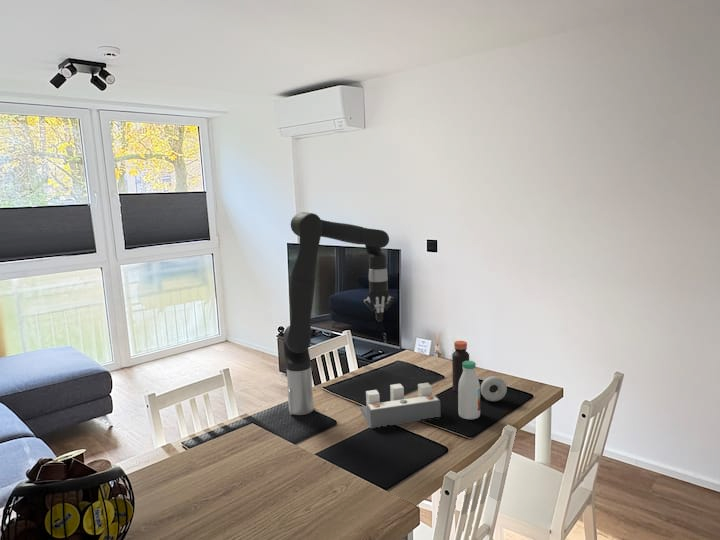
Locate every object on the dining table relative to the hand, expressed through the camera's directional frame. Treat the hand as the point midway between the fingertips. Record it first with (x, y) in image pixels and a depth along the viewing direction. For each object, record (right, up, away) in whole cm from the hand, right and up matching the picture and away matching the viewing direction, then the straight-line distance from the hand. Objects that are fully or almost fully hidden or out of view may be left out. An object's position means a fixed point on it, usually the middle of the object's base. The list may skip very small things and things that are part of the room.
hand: (379, 321), depth 202 cm
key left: (-3, -31, -22) cm, 38 cm away
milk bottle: (+32, -32, -23) cm, 50 cm away
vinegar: (+33, -28, 0) cm, 44 cm away
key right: (+16, -30, -18) cm, 38 cm away
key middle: (+6, -30, -17) cm, 35 cm away
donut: (+43, -30, -12) cm, 54 cm away
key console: (+7, -32, -19) cm, 38 cm away
